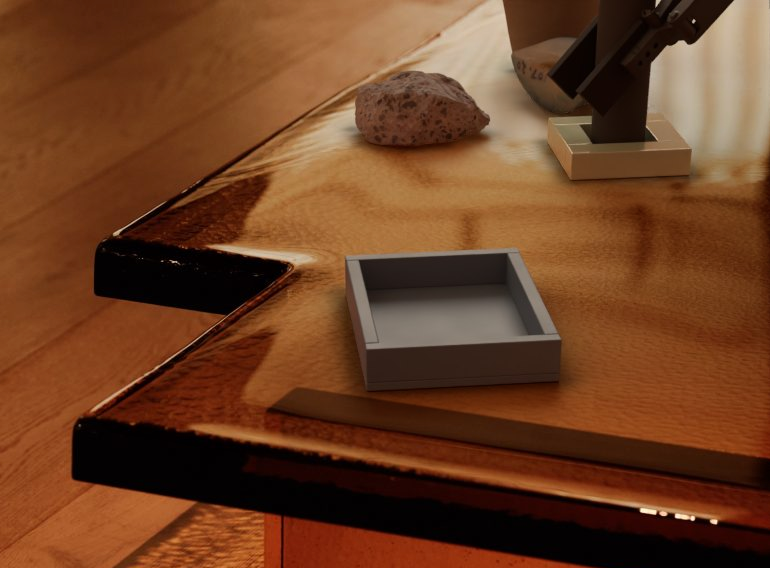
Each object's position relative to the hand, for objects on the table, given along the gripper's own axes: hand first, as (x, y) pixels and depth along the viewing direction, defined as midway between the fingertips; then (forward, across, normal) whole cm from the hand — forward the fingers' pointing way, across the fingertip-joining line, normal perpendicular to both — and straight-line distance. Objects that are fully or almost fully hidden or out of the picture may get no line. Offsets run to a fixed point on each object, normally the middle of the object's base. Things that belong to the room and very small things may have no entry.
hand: (574, 94), depth 116 cm
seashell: (0, +14, -8) cm, 16 cm away
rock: (+9, +12, +1) cm, 15 cm away
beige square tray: (+1, 0, -6) cm, 6 cm away
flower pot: (-3, +24, -11) cm, 27 cm away
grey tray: (+18, -25, +11) cm, 32 cm away
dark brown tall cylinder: (+1, 0, -6) cm, 6 cm away
